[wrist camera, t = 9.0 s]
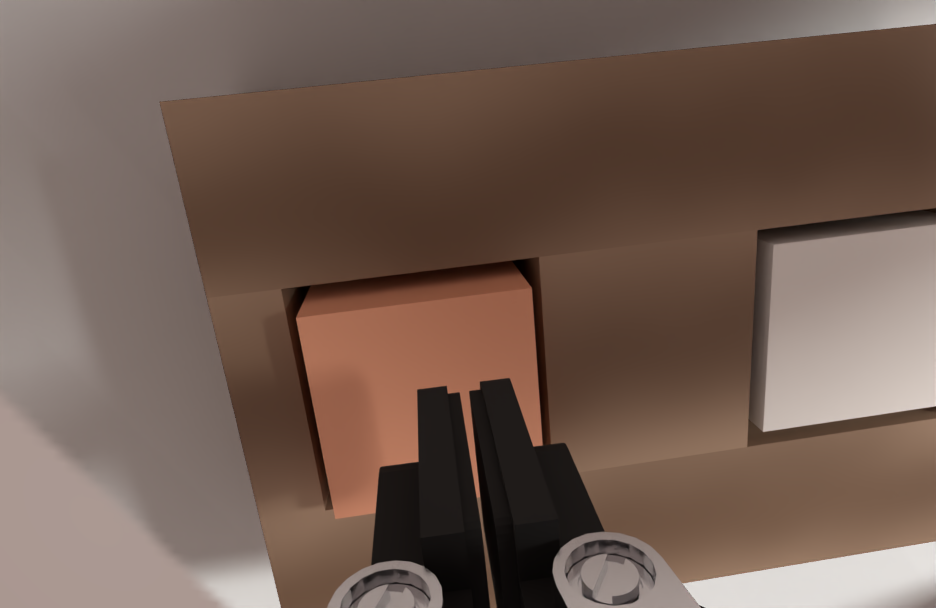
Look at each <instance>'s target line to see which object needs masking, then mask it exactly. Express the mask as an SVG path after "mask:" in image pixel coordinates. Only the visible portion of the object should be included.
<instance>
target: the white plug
mask: <svg viewBox="0 0 936 608" xmlns="http://www.w3.org/2000/svg"><path fill="white" fill-rule="evenodd" d="M934 406H936V213H934V212H929V211H924V210H915V211H907V212H899V213H891V214H883V215H875V216H867V217H859V218H850V219H842V220H834V221H826V222H818V223H810V224H802V225H794V226H786V227H778V228H770V229H762V230H758V231H757V252H756V273H755V294H754V315H753V335H752V356H751V377H750V398H749V420H750V421H751V422H752V423H754V424H755V425H756V426H757V427H758V428H759V429H760V430H761V431H763V432H767V431H773V430H780V429H787V428H793V427H800V426H807V425H813V424H820V423H827V422H834V421H840V420H847V419H854V418H860V417H867V416H874V415H881V414H887V413H894V412H901V411H907V410H914V409H921V408H927V407H934Z"/></svg>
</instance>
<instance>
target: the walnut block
mask: <svg viewBox="0 0 936 608" xmlns="http://www.w3.org/2000/svg"><path fill="white" fill-rule="evenodd" d="M160 106H161V110H162V114H163V119H164V123H165V127H166V131H167V135H168V139H169V143H170V148H171V152H172V156H173V160H174V164H175V168H176V173H177V177H178V181H179V185H180V189H181V193H182V198H183V202H184V206H185V210H186V214H187V218H188V222H189V227H190V231H191V235H192V239H193V243H194V247H195V252H196V256H197V260H198V264H199V268H200V272H201V276H202V281H203V285H204V289H205V293H206V297H207V301H208V306H209V310H210V314H211V318H212V322H213V326H214V331H215V335H216V339H217V343H218V347H219V351H220V355H221V360H222V364H223V368H224V372H225V376H226V380H227V385H228V389H229V393H230V397H231V401H232V405H233V409H234V414H235V418H236V422H237V426H238V430H239V434H240V439H241V443H242V447H243V451H244V455H245V459H246V464H247V468H248V472H249V476H250V480H251V484H252V488H253V493H254V497H255V501H256V505H257V509H258V513H259V518H260V522H261V526H262V530H263V534H264V538H265V542H266V547H267V551H268V555H269V559H270V563H271V567H272V572H273V576H274V580H275V584H276V588H277V592H278V597H279V601H280V605H281V608H327V607H328V604H329V602H330V600H331V599H332V597H333V595H334V593H335V591H336V590H337V589H338V588H339V587H340V586H341V584H342V583H343V582H344V581H345V580H346V579H347V578H349V577H350V576H352V575H353V574H355V573H357V572H358V571H360V570H361V569H363V568H366V567H369V566H371V560H372V548H373V537H374V525H375V513H373V514H366V515H360V516H353V517H346V518H340V519H335V515H334V510H333V505H332V500H331V495H330V489H329V484H328V479H327V474H326V469H325V464H324V459H323V454H322V449H321V443H320V438H319V433H318V428H317V423H316V418H315V413H314V408H313V403H312V397H311V392H310V387H309V382H308V377H307V372H306V367H305V362H304V357H303V351H302V346H301V341H300V336H299V331H298V326H297V321H296V317H297V315H298V312H299V310H300V308H301V306H302V304H303V302H304V299H305V297H306V295H307V293H308V291H309V289H310V286H311V285H317V284H325V283H333V282H342V281H350V280H358V279H366V278H374V277H382V276H390V275H398V274H406V273H414V272H422V271H430V270H438V269H447V268H455V267H463V266H471V265H479V264H487V263H495V262H503V261H512V262H513V263H514V265H515V266H516V267H517V269H518V270H519V271H520V273H521V274H522V275H523V277H524V278H525V279H526V281H527V282H528V283H529V285H530V286H531V287H532V298H533V312H534V327H535V341H536V356H537V370H538V385H539V399H540V414H541V428H542V443H543V445H549V444H557V443H565V444H566V445H567V447H568V449H569V451H570V454H571V456H572V458H573V460H574V463H575V465H576V467H577V470H578V472H579V474H580V476H581V479H582V481H583V483H584V485H585V488H586V490H587V492H588V495H589V497H590V499H591V501H592V504H593V506H594V508H595V511H596V513H597V515H598V517H599V520H600V522H601V524H602V526H603V529H604V531H605V532H613V533H621V534H625V535H628V536H631V537H635V538H637V539H639V540H641V541H643V542H644V543H646V544H648V545H650V546H651V547H652V548H653V549H654V550H655V551H656V552H657V553H658V554H659V555H660V556H662V558H663V559H664V560H665V562H666V563H667V564H668V566H669V567H670V568H671V569H672V571H673V572H674V573H675V575H676V576H677V577H678V579H679V580H680V581H681V582H682V583H688V582H694V581H700V580H706V579H712V578H718V577H724V576H730V575H736V574H742V573H748V572H754V571H760V570H766V569H772V568H778V567H784V566H790V565H796V564H802V563H808V562H814V561H820V560H826V559H832V558H838V557H844V556H850V555H856V554H862V553H868V552H874V551H880V550H886V549H892V548H898V547H904V546H910V545H916V544H922V543H928V542H934V541H936V406H934V407H927V408H921V409H914V410H907V411H901V412H894V413H887V414H881V415H874V416H867V417H860V418H854V419H847V420H840V421H834V422H827V423H820V424H813V425H807V426H800V427H793V428H787V429H780V430H773V431H767V432H763V431H761V430H760V429H759V428H758V427H757V426H756V425H755V424H754V423H752V422H751V421H750V420H749V398H750V377H751V356H752V335H753V315H754V294H755V273H756V252H757V231H758V230H762V229H770V228H778V227H786V226H794V225H802V224H810V223H818V222H826V221H834V220H842V219H850V218H859V217H867V216H875V215H883V214H891V213H899V212H907V211H915V210H924V211H929V212H934V213H936V24H931V25H921V26H911V27H901V28H891V29H881V30H871V31H861V32H851V33H841V34H831V35H821V36H811V37H801V38H791V39H781V40H771V41H762V42H752V43H742V44H732V45H722V46H712V47H702V48H692V49H682V50H672V51H662V52H652V53H642V54H632V55H622V56H612V57H602V58H592V59H582V60H572V61H562V62H552V63H542V64H532V65H522V66H512V67H502V68H492V69H482V70H472V71H462V72H452V73H442V74H432V75H422V76H412V77H402V78H392V79H382V80H372V81H362V82H352V83H342V84H332V85H322V86H312V87H302V88H292V89H282V90H272V91H262V92H253V93H243V94H233V95H223V96H213V97H203V98H193V99H183V100H173V101H163V102H160ZM477 502H478V509H479V515H480V522H481V529H482V536H483V544H484V553H485V562H486V572H487V581H488V590H489V599H490V608H497V606H496V600H495V594H494V588H493V582H492V576H491V570H490V564H489V557H488V551H487V545H486V539H485V533H484V526H483V518H482V509H481V500H480V497H478V498H477Z"/></svg>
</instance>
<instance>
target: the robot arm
mask: <svg viewBox="0 0 936 608" xmlns="http://www.w3.org/2000/svg"><path fill="white" fill-rule="evenodd" d="M469 396H470V406H471V415H472V425H473V434H474V443H475V453H476V462H477V471H478V481H479V490H480V500H481V509H482V518H483V526H484V533H485V539H486V545H487V551H488V557H489V564H490V570H491V576H492V582H493V588H494V594H495V600H496V606H497V608H704V607H702V606H700V605H698V603H697V602H696V601H695V599H694V598H693V597H692V595H691V594H690V593H689V592H688V590H687V589H686V588H685V586H684V585H683V584H682V582H681V581H680V580H679V579H678V577H677V576H676V575H675V573H674V572H673V571H672V569H671V568H670V567H669V566H668V564H667V563H666V562H665V560H664V559H663V558H662V556H660V555H659V554H658V553H657V552H656V551H655V550H654V549H653V548H652V547H651V546H650V545H648V544H646V543H644V542H643V541H641V540H639V539H637V538H635V537H631V536H628V535H625V534H621V533H613V532H605V531H604V529H603V526H602V524H601V522H600V520H599V517H598V515H597V513H596V511H595V508H594V506H593V504H592V501H591V499H590V497H589V495H588V492H587V490H586V488H585V485H584V483H583V481H582V479H581V476H580V474H579V472H578V470H577V467H576V465H575V463H574V460H573V458H572V456H571V454H570V451H569V449H568V447H567V445H566V444H565V443H557V444H549V445H542V446H534V447H533V444H532V441H531V438H530V435H529V432H528V429H527V426H526V423H525V420H524V418H523V415H522V412H521V409H520V406H519V403H518V400H517V397H516V394H515V391H514V388H513V386H512V383H511V380H510V378H504V379H496V380H488V381H480V390H472V391H469ZM417 410H418V460H419V462H412V463H405V464H397V465H390V466H382V467H380V469H379V477H378V489H377V501H376V513H375V525H374V537H373V548H372V560H371V566H369V567H366V568H363V569H361V570H360V571H358V572H357V573H355V574H353V575H352V576H350V577H349V578H347V579H346V580H345V581H344V582H343V583H342V584H341V586H340V587H339V588H338V589H337V590H336V591H335V593H334V595H333V597H332V599H331V600H330V602H329V604H328V607H327V608H490V599H489V590H488V581H487V572H486V562H485V553H484V544H483V536H482V529H481V522H480V515H479V509H478V502H477V496H476V490H475V484H474V478H473V471H472V465H471V459H470V453H469V447H468V440H467V434H466V428H465V422H464V416H463V409H462V403H461V397H460V392H456V393H449V394H448V391H447V386H440V387H433V388H425V389H417Z"/></svg>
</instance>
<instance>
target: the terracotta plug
mask: <svg viewBox="0 0 936 608" xmlns="http://www.w3.org/2000/svg"><path fill="white" fill-rule="evenodd" d="M296 321H297V326H298V331H299V336H300V341H301V346H302V351H303V357H304V362H305V367H306V372H307V377H308V382H309V387H310V392H311V397H312V403H313V408H314V413H315V418H316V423H317V428H318V433H319V438H320V443H321V449H322V454H323V459H324V464H325V469H326V474H327V479H328V484H329V489H330V495H331V500H332V505H333V510H334V515H335V519H340V518H346V517H353V516H360V515H366V514H373V513H376V501H377V489H378V477H379V469H380V467H382V466H390V465H397V464H405V463H412V462H419V460H418V410H417V389H425V388H433V387H440V386H447V391H448V394H449V393H456V392H460V397H461V403H462V409H463V416H464V422H465V428H466V434H467V440H468V447H469V453H470V459H471V465H472V471H473V478H474V484H475V490H476V496H477V498H478V497H480V490H479V481H478V471H477V462H476V453H475V443H474V434H473V425H472V415H471V406H470V396H469V391H472V390H480V381H488V380H496V379H504V378H510V380H511V383H512V386H513V388H514V391H515V394H516V397H517V400H518V403H519V406H520V409H521V412H522V415H523V418H524V420H525V423H526V426H527V429H528V432H529V435H530V438H531V441H532V444H533V447H534V446H542V445H543V443H542V428H541V414H540V399H539V385H538V370H537V356H536V341H535V327H534V312H533V298H532V287H531V286H530V285H529V283H528V282H527V281H526V279H525V278H524V277H523V275H522V274H521V273H520V271H519V270H518V269H517V267H516V266H515V265H514V263H513V262H512V261H503V262H495V263H487V264H479V265H471V266H463V267H455V268H447V269H438V270H430V271H422V272H414V273H406V274H398V275H390V276H382V277H374V278H366V279H358V280H350V281H342V282H333V283H325V284H317V285H311V286H310V289H309V291H308V293H307V295H306V297H305V299H304V302H303V304H302V306H301V308H300V310H299V312H298V315H297V317H296Z"/></svg>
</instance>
